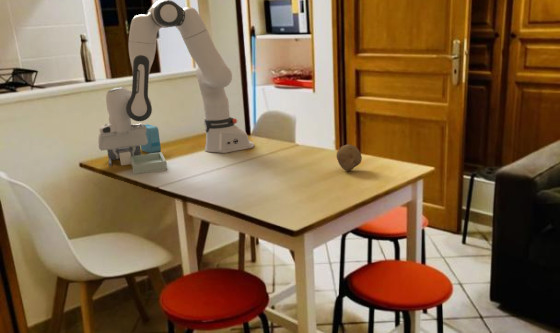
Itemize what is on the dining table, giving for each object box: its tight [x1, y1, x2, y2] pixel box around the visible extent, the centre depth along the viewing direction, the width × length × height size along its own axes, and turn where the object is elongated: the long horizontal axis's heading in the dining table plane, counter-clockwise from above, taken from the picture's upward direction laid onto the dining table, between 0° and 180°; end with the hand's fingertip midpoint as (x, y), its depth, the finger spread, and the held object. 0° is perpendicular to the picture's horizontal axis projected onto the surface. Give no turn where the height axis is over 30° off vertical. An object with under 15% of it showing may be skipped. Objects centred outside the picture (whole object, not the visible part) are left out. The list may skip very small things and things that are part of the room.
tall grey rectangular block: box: [119, 147, 132, 166], centre depth 224 cm, size 4×9×6 cm, turn 19°
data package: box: [140, 124, 162, 154], centre depth 241 cm, size 12×4×12 cm, turn 40°
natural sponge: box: [336, 144, 363, 172], centre depth 190 cm, size 9×9×10 cm
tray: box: [130, 151, 168, 175], centre depth 215 cm, size 13×17×4 cm
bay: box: [106, 146, 142, 168], centre depth 225 cm, size 14×13×11 cm
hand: (125, 157), depth 224 cm, fingers closed on tall grey rectangular block, 4 cm apart
